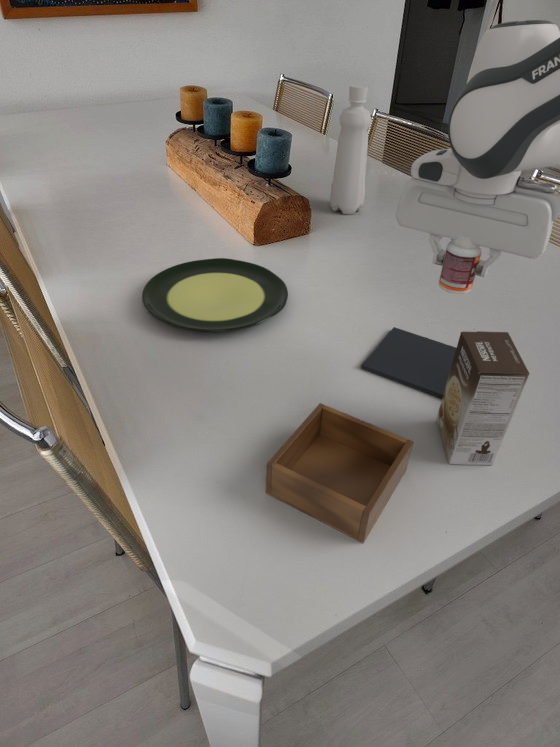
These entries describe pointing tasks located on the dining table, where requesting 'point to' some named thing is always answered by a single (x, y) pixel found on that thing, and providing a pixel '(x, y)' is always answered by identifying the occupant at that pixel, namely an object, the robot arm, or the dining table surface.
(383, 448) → the wooden box
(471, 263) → the pill bottle
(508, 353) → the coffee box
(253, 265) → the plate
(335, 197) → the bottle
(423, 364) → the mat
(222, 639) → the dining table surface
